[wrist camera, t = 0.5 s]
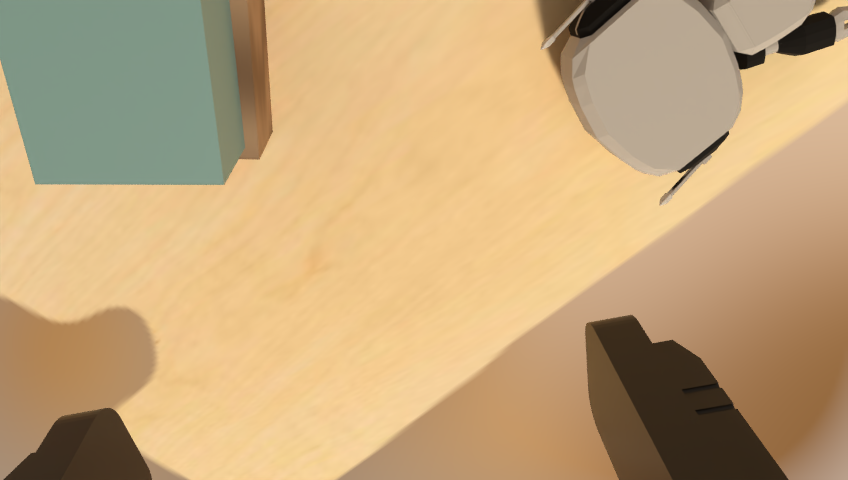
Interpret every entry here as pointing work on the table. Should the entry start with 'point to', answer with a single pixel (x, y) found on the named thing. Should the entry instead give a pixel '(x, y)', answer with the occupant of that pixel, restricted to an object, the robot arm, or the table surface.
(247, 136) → the tower base
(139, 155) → the tower top
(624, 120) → the robot toy
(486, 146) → the table surface
